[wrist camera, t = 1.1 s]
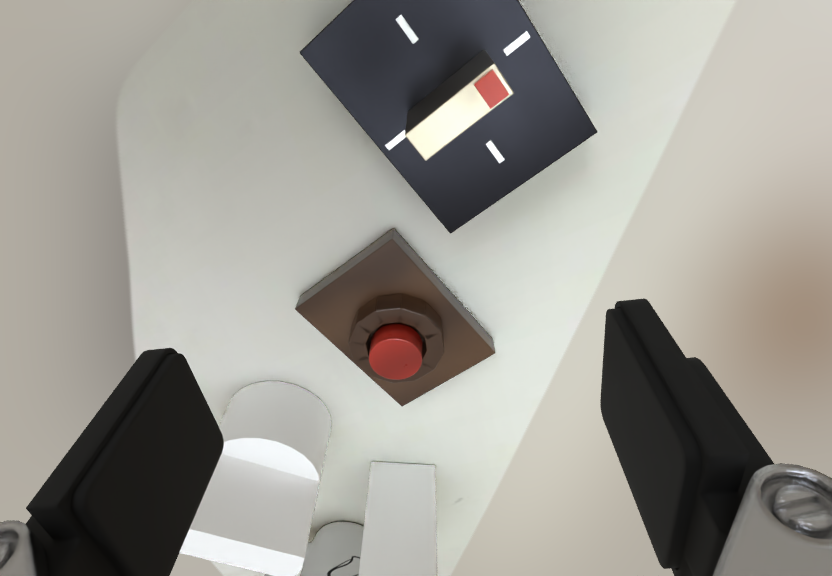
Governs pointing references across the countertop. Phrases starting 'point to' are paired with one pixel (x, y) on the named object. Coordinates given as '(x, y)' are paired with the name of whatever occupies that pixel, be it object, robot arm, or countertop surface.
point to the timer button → (395, 351)
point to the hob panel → (431, 66)
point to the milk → (400, 521)
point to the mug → (334, 551)
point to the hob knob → (456, 105)
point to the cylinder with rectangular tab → (263, 481)
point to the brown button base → (396, 315)
